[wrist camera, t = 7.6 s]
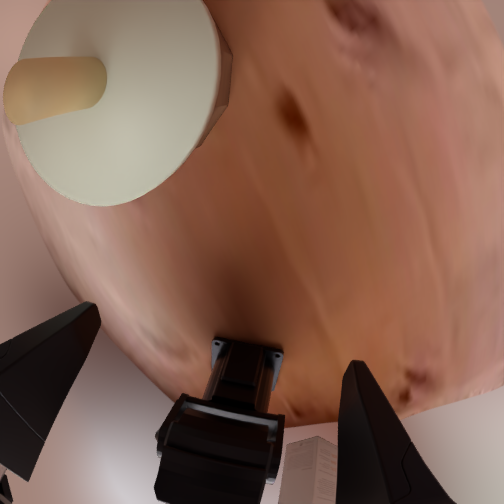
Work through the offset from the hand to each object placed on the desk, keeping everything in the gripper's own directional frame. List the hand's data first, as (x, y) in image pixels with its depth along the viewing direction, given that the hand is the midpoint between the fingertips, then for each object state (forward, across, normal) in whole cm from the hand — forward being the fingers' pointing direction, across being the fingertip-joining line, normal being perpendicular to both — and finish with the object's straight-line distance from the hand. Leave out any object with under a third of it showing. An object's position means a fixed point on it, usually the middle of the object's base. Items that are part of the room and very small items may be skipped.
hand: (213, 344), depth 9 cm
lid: (+8, +9, -8) cm, 15 cm away
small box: (+12, -12, +34) cm, 38 cm away
